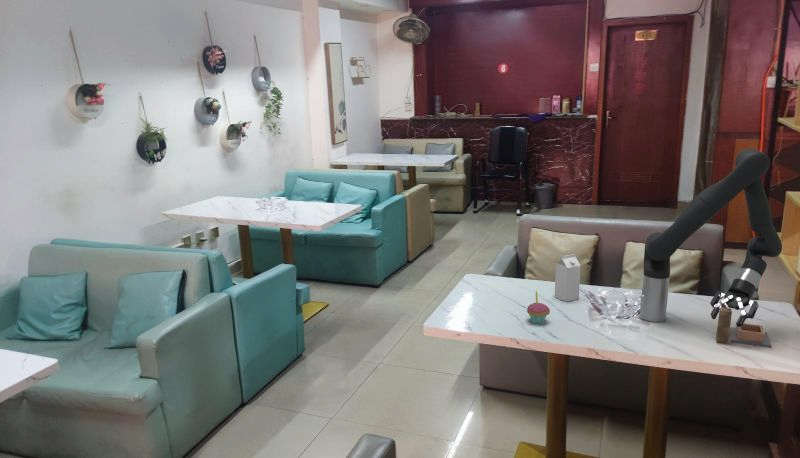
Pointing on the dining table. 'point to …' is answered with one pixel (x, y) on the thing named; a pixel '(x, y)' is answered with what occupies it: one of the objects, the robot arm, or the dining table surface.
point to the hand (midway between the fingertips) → (725, 321)
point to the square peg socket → (750, 335)
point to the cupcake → (538, 311)
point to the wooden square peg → (723, 325)
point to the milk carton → (567, 278)
